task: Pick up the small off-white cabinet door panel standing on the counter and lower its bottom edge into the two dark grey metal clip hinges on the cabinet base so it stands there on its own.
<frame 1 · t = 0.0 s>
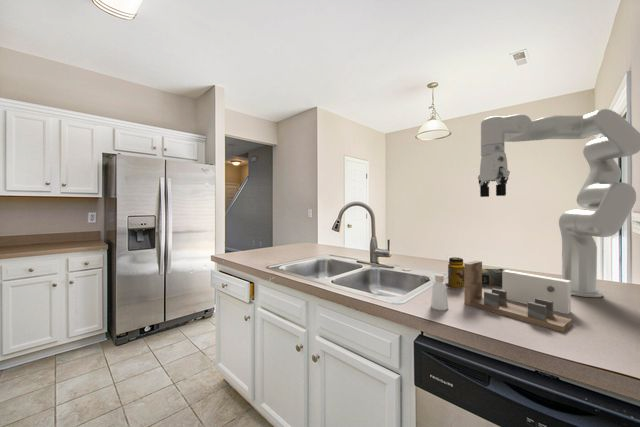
hand: (492, 196, 102), 37 cm above the worktop, tool pointing down, fingers open, 9 cm apart
door panel: (534, 304, 91), on the worktop
condiment: (453, 287, 112), on the worktop
pepper shaker: (439, 308, 90), on the worktop
cabinet base: (516, 314, 83), on the worktop
juice carton: (481, 283, 117), on the worktop
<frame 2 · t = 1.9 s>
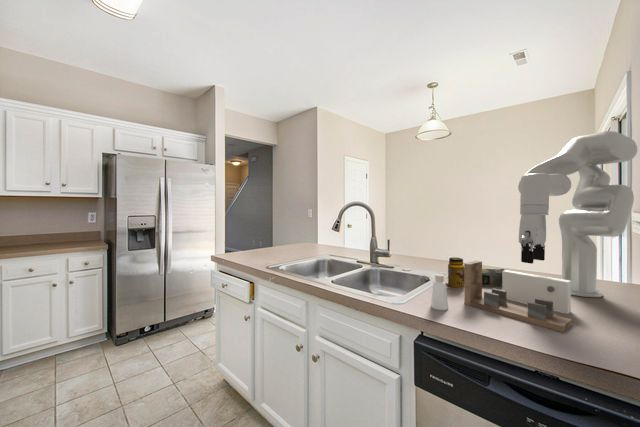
hand: (533, 261, 90), 15 cm above the worktop, tool pointing down, fingers open, 9 cm apart
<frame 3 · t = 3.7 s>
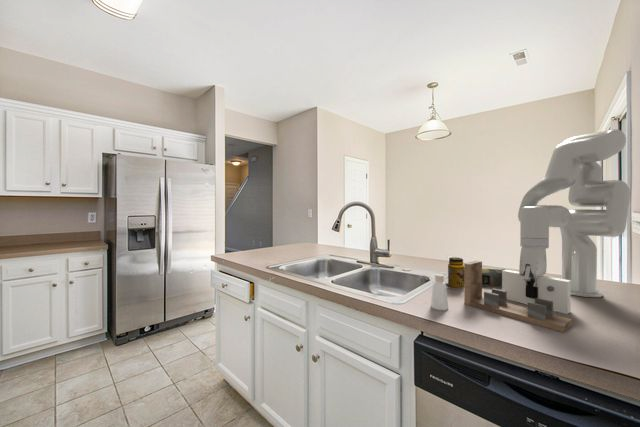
hand: (533, 296, 91), 3 cm above the worktop, tool pointing down, fingers closed on door panel, 3 cm apart
door panel: (533, 304, 91), on the worktop, touching gripper
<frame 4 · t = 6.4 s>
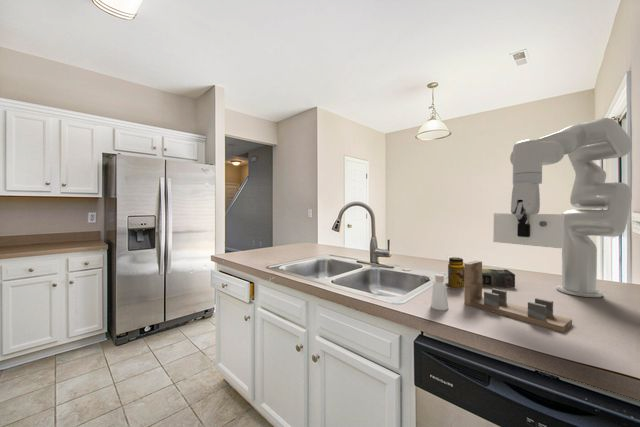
hand: (526, 235, 87), 24 cm above the worktop, tool pointing down, fingers closed on door panel, 3 cm apart
door panel: (525, 244, 87), point 21 cm above the worktop, touching gripper
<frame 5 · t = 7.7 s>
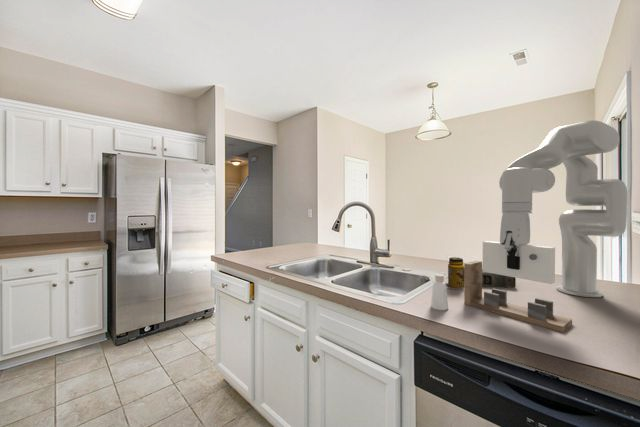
hand: (515, 267, 83), 15 cm above the worktop, tool pointing down, fingers closed on door panel, 3 cm apart
door panel: (515, 276, 83), point 12 cm above the worktop, touching gripper
when the fingers open (6 cm above the worktop, at t = 9.4 s): door panel drops 1 cm, resting on cabinet base.
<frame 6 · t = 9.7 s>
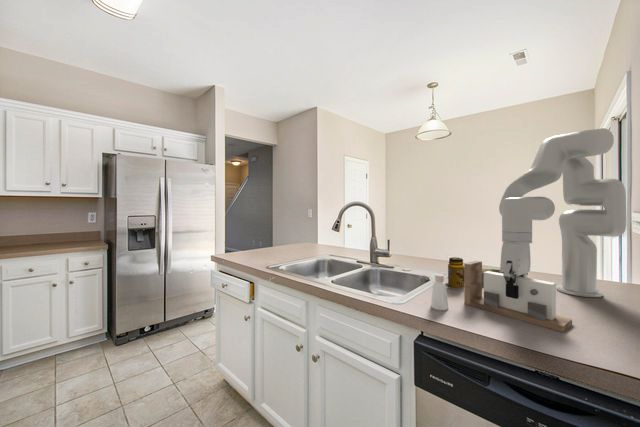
hand: (516, 294, 83), 6 cm above the worktop, tool pointing down, fingers open, 5 cm apart
door panel: (516, 309, 83), point 2 cm above the worktop, touching cabinet base
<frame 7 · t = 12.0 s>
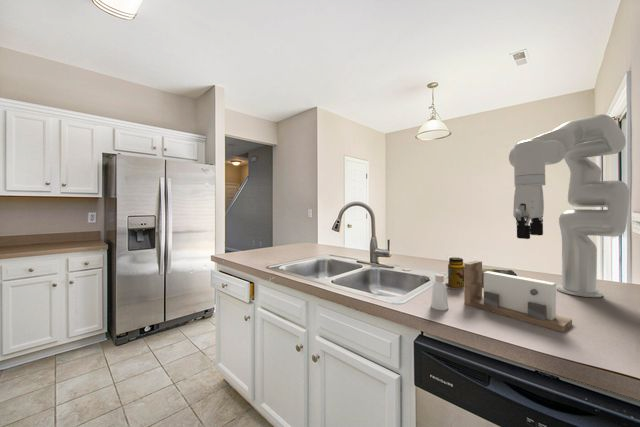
hand: (530, 236, 83), 24 cm above the worktop, tool pointing down, fingers open, 9 cm apart
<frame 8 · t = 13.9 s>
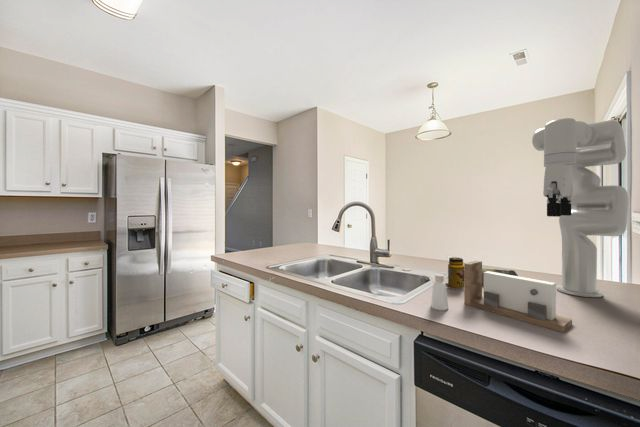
hand: (559, 215, 83), 30 cm above the worktop, tool pointing down, fingers open, 9 cm apart
at the end: door panel 0.2 cm off-centre on the cabinet base, point 1.5 cm above the cabinet base's base; door panel tilted 0°; the gripper is holding nothing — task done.
